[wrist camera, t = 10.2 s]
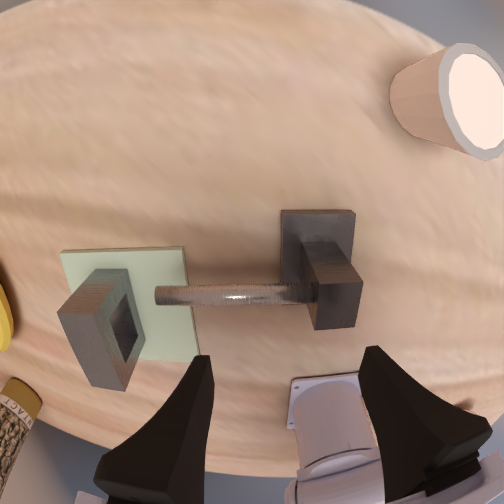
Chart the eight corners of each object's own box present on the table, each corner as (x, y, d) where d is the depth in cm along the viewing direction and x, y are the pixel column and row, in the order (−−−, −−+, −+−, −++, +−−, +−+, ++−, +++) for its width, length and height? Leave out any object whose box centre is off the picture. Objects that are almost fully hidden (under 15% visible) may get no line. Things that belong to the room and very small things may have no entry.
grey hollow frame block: (146, 339, 23) (125, 391, 18) (116, 337, 23) (91, 386, 18) (127, 268, 21) (93, 315, 15) (95, 268, 21) (56, 312, 15)
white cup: (364, 73, 16) (417, 54, 9) (431, 51, 14) (490, 35, 8) (405, 160, 18) (465, 179, 12) (464, 130, 17) (525, 140, 10)
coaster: (200, 357, 25) (199, 362, 24) (97, 350, 25) (95, 353, 24) (183, 246, 21) (181, 250, 20) (62, 250, 21) (59, 253, 20)
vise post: (341, 294, 22) (367, 349, 16) (182, 299, 22) (162, 356, 16) (351, 210, 20) (391, 246, 14) (170, 213, 20) (137, 252, 14)
